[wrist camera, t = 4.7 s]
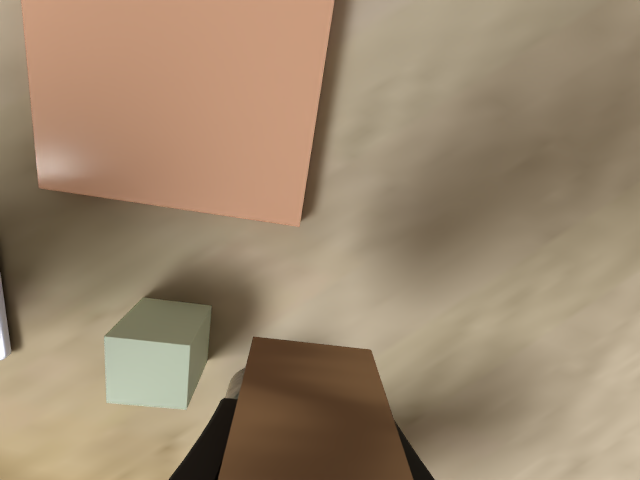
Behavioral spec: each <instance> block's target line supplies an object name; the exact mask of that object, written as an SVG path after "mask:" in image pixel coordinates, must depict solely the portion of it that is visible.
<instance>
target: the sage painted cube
mask: <svg viewBox="0 0 640 480" xmlns="http://www.w3.org/2000/svg"><path fill="white" fill-rule="evenodd" d="M211 309H212V306H211V305H202V304H194V303H186V302H177V301H169V300H161V299H152V298H144V297H143V298H142V299H141V300H140V301H139V302H138V303H137V304H136V305H135V306H134V307H133V308H132V309H131V310H130V311H129V312H128V313H127V314H126V315H125V316H124V317H123V318H122V319H121V320H120V321H119V322H118V323H117V324H116V325H115V326H114V327H113V328H112V329H111V330H110V331H109V332H108V333H107V334H106V335H105V336H104V346H105V374H106V401H107V403H114V404H126V405H137V406H149V407H161V408H172V409H184V410H187V407H188V405H189V403H190V400H191V398H192V396H193V393H194V391H195V389H196V386H197V384H198V382H199V379H200V377H201V375H202V372H203V370H204V367H205V365H206V363H207V360H208V348H209V335H210V322H211Z"/></svg>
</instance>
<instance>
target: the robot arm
mask: <svg viewBox="0 0 640 480" xmlns="http://www.w3.org/2000/svg"><path fill="white" fill-rule="evenodd" d="M10 354H11V346H10V339H9V332H8V324H7V317H6V310H5V303H4V296H3V289H2V282H1V274H0V360H3V359H5V358H6V357H8V356H9V355H10ZM237 401H238V399H232V398H224V399H222V400H221V401H220V403H219V405H218V407H217V409H216V411H215V413H214V414H213V416H212V418H211V420H210V421H209V423H208V425H207V426H206V428H205V429H204V431H203V432H202V434H201V436H200V437H199V438H198V440H197V441H196V443H195V444H194V446H193V447H192V449H191V450H190V452H189V453H188V454H187V456H186V457H185V459H184V460H183V461H182V463H181V464H180V465H179V467H178V468H177V469H176V471H175V472H174V473H173V474H172V476H171V477H170V478H169V480H218V477H219V473H220V469H221V465H222V461H223V457H224V453H225V449H226V445H227V441H228V437H229V433H230V429H231V425H232V421H233V417H234V413H235V409H236V405H237ZM394 422H395V420H394ZM395 425H396V428H397V431H398V434H399V437H400V440H401V443H402V446H403V449H404V452H405V456H406V459H407V462H408V465H409V468H410V471H411V474H412V477H413V480H435V479H434V478H433V477H432V475H431V474H430V472H429V471H428V470H427V468H426V467H425V465H424V464H423V463H422V461H421V460H420V458H419V457H418V455H417V454H416V452H415V451H414V449H413V448H412V446H411V445H410V443H409V442H408V440H407V439H406V437H405V436H404V434H403V433H402V431H401V430H400V428H399V427H398V425H397V424H396V422H395Z"/></svg>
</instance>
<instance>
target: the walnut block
mask: <svg viewBox="0 0 640 480" xmlns="http://www.w3.org/2000/svg"><path fill="white" fill-rule="evenodd" d="M218 480H413V477H412V474H411V471H410V468H409V465H408V462H407V459H406V456H405V452H404V449H403V446H402V443H401V440H400V437H399V434H398V431H397V428H396V425H395V422H394V419H393V416H392V413H391V410H390V406H389V403H388V400H387V397H386V394H385V391H384V388H383V385H382V382H381V379H380V376H379V373H378V370H377V367H376V363H375V360H374V357H373V354H372V351H371V350H369V349H360V348H351V347H342V346H333V345H324V344H315V343H306V342H297V341H288V340H279V339H270V338H261V337H253V340H252V344H251V348H250V352H249V356H248V360H247V364H246V368H245V372H244V376H243V380H242V384H241V388H240V392H239V396H238V401H237V405H236V409H235V413H234V417H233V421H232V425H231V429H230V433H229V437H228V441H227V445H226V449H225V453H224V457H223V461H222V465H221V469H220V473H219V477H218Z"/></svg>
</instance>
